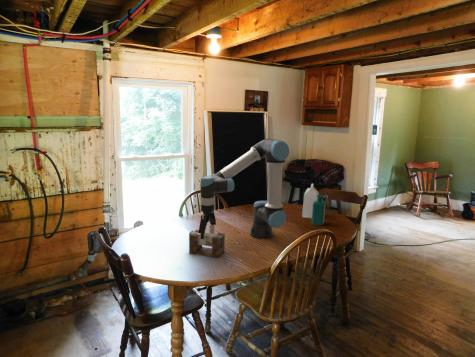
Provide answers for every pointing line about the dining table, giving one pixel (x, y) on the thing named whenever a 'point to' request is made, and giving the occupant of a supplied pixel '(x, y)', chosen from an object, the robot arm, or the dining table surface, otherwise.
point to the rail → (209, 238)
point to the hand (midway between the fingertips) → (207, 239)
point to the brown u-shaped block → (204, 251)
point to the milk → (309, 201)
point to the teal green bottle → (318, 210)
